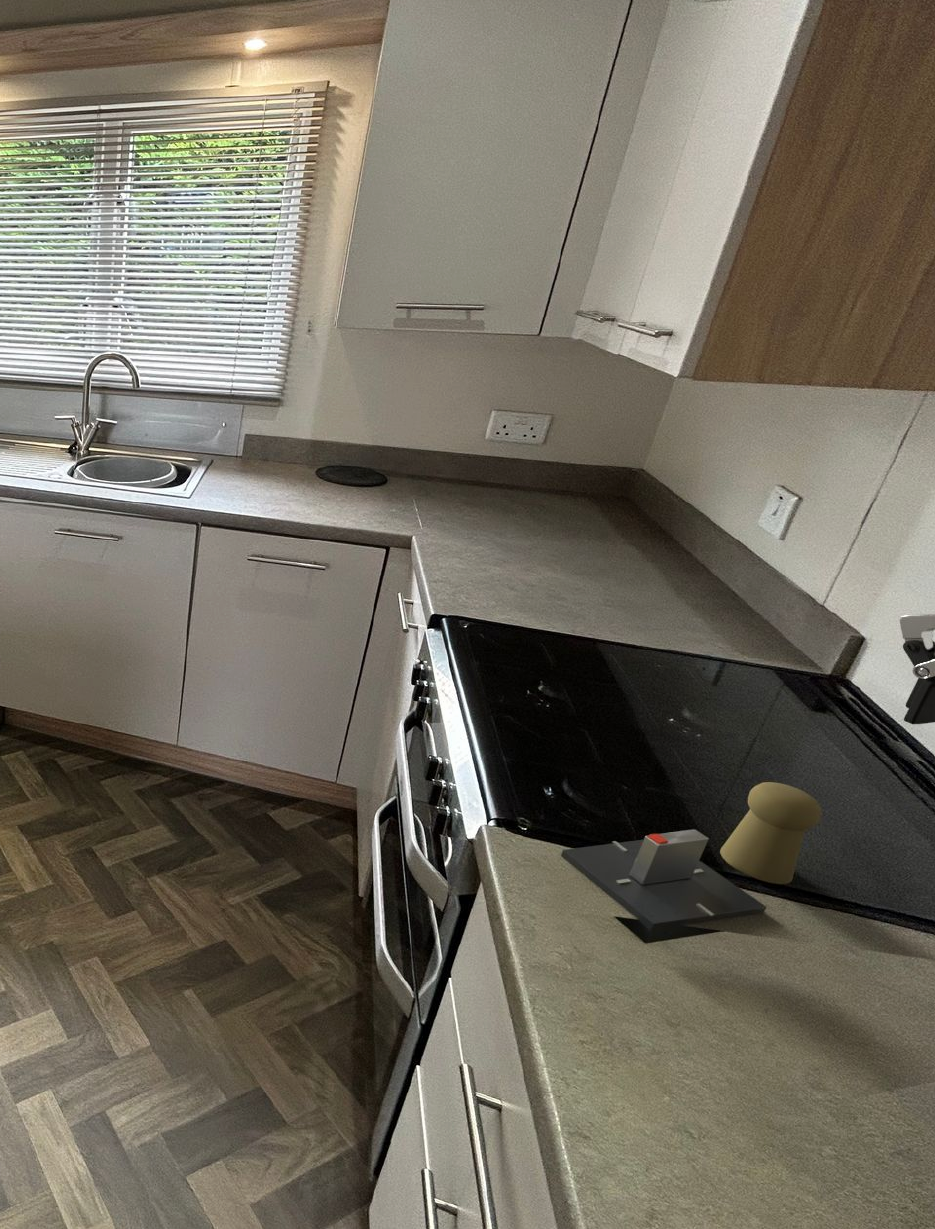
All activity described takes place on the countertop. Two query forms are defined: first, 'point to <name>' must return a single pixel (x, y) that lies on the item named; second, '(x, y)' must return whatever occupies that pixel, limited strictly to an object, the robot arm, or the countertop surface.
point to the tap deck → (661, 893)
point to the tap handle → (668, 856)
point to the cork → (771, 832)
